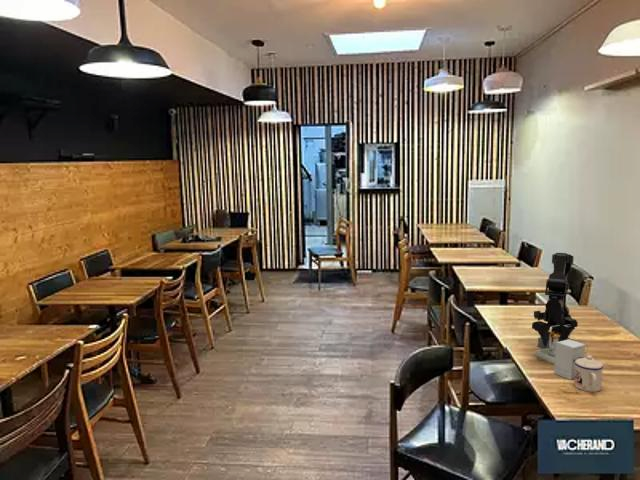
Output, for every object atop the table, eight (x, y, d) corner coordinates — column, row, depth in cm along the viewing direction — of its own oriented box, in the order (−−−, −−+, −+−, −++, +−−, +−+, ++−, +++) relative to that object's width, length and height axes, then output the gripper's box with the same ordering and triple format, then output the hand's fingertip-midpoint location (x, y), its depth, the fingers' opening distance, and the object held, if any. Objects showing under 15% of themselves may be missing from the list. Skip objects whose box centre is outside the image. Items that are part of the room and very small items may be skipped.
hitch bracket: (552, 344, 228) (552, 335, 227) (566, 350, 220) (566, 341, 220) (537, 346, 225) (538, 337, 225) (551, 352, 218) (552, 343, 217)
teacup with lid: (570, 381, 189) (572, 350, 188) (597, 382, 188) (599, 352, 186) (579, 395, 178) (581, 363, 176) (608, 397, 176) (610, 364, 174)
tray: (553, 352, 217) (553, 347, 217) (572, 361, 208) (572, 355, 208) (534, 356, 214) (534, 350, 214) (552, 364, 205) (553, 358, 204)
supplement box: (570, 380, 190) (572, 347, 188) (553, 373, 196) (555, 341, 195) (583, 376, 193) (585, 344, 191) (566, 369, 200) (568, 338, 198)
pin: (553, 354, 214) (554, 330, 213) (561, 357, 210) (563, 334, 208) (544, 355, 212) (545, 332, 211) (553, 359, 208) (554, 335, 207)
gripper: (558, 300, 219) (556, 335, 221) (523, 305, 212) (521, 341, 215) (579, 307, 208) (577, 344, 211) (543, 312, 202) (541, 350, 204)
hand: (553, 344), depth 210 cm, fingers open, 9 cm apart
